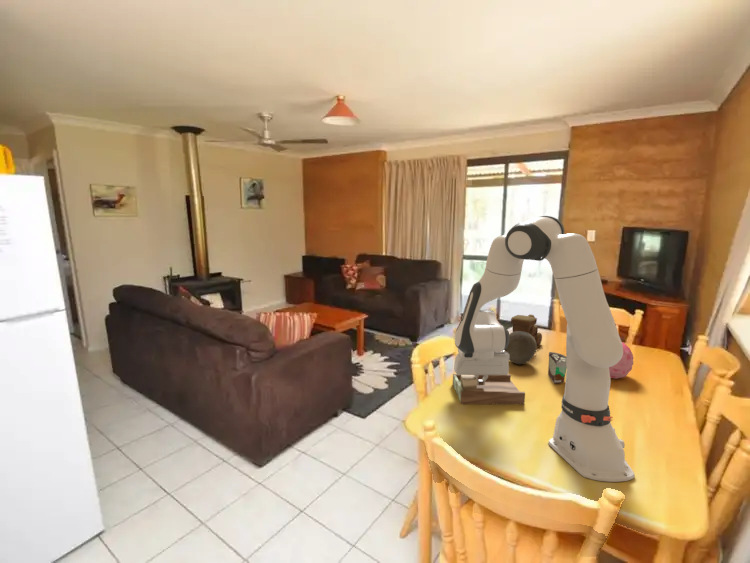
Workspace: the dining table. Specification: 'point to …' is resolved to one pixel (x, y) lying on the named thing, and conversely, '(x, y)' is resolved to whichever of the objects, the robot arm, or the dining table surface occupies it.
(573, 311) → the robot arm
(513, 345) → the dark brown round ball
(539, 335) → the wooden toy train
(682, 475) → the dining table surface
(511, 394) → the box
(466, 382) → the beech block
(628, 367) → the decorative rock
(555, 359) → the food container
